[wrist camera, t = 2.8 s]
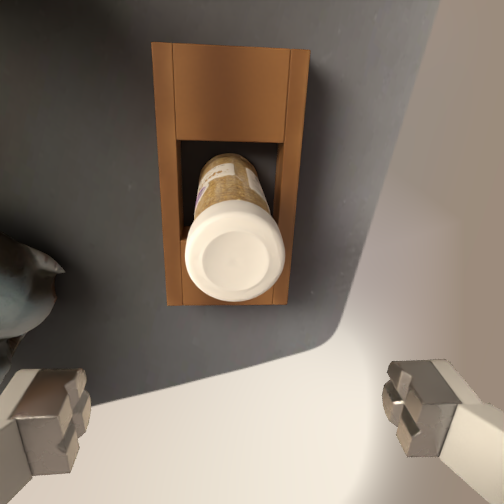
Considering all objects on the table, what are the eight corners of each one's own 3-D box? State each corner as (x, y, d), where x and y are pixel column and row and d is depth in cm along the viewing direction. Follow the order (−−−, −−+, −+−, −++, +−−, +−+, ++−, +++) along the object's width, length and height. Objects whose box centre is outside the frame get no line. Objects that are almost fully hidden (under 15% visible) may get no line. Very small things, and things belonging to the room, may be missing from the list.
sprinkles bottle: (200, 148, 28) (186, 208, 16) (262, 155, 29) (294, 217, 16) (196, 208, 30) (181, 302, 18) (255, 214, 30) (278, 308, 18)
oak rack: (301, 52, 26) (310, 49, 23) (281, 286, 33) (287, 305, 31) (158, 45, 25) (150, 41, 22) (171, 286, 33) (167, 305, 30)
